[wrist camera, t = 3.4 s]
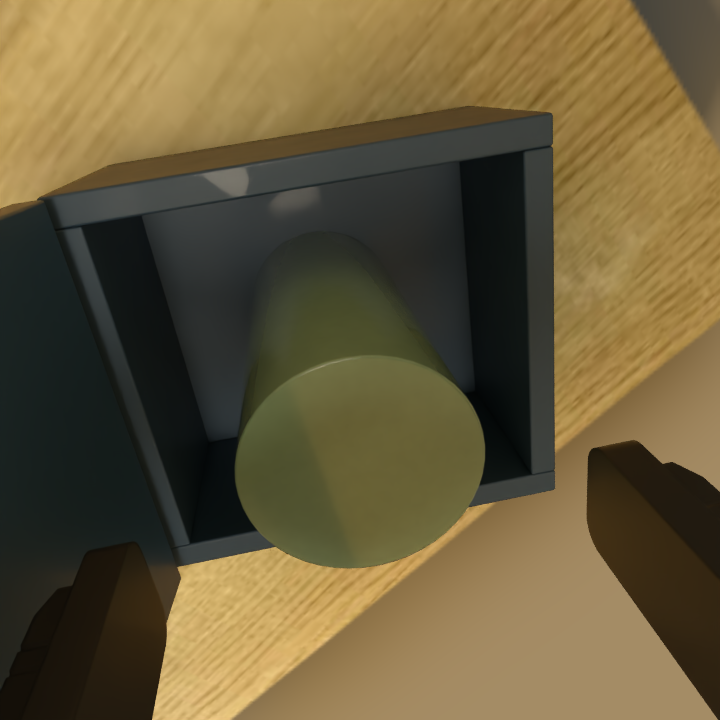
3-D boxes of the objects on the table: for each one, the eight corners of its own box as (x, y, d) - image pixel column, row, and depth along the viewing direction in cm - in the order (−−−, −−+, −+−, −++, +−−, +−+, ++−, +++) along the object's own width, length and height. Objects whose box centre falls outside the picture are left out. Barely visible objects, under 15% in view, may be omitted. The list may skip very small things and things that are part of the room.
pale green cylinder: (382, 219, 21) (478, 333, 11) (403, 385, 24) (495, 592, 14) (237, 244, 21) (205, 384, 11) (276, 409, 24) (278, 639, 14)
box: (471, 105, 21) (554, 112, 15) (488, 395, 26) (555, 490, 20) (107, 165, 20) (34, 198, 14) (196, 451, 25) (171, 569, 19)
